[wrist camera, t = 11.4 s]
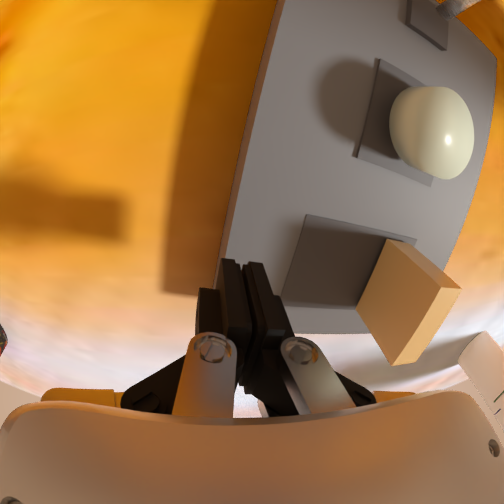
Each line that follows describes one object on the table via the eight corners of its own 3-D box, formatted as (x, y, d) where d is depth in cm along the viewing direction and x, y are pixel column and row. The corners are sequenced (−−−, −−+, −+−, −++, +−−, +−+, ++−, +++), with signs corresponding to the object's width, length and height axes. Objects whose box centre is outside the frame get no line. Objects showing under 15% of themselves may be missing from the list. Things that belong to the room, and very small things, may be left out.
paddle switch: (386, 238, 14) (441, 287, 10) (409, 243, 15) (462, 289, 10) (355, 309, 16) (391, 366, 12) (378, 309, 17) (415, 362, 12)
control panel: (291, -45, 8) (308, -72, 5) (470, 58, 12) (501, 58, 9) (211, 298, 18) (212, 333, 15) (392, 310, 22) (412, 335, 19)
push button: (398, 71, 9) (425, 69, 7) (454, 109, 10) (479, 113, 8) (379, 153, 11) (405, 161, 9) (437, 179, 12) (461, 190, 10)
